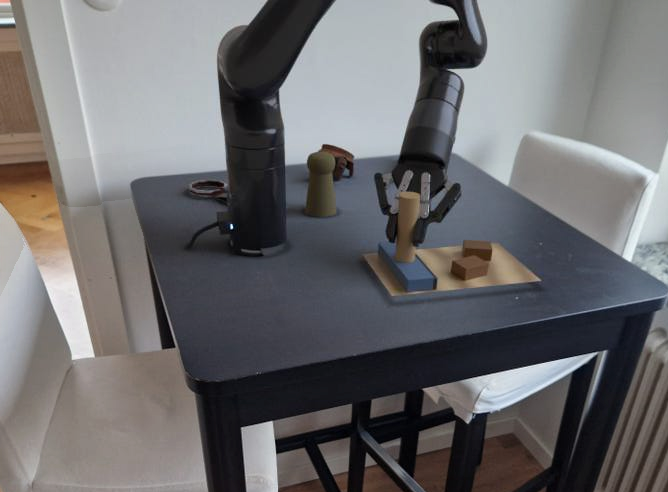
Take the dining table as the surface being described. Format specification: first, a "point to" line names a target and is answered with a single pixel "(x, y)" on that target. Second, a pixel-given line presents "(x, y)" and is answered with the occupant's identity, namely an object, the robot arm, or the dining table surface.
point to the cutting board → (440, 262)
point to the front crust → (469, 267)
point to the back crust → (477, 249)
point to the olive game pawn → (320, 185)
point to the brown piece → (339, 161)
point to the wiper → (407, 249)
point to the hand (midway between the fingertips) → (403, 242)
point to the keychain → (218, 194)
